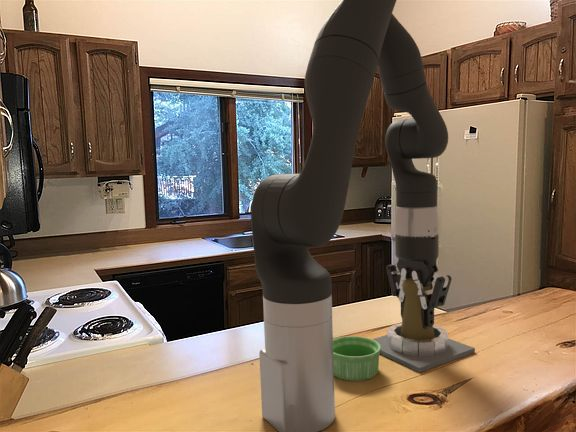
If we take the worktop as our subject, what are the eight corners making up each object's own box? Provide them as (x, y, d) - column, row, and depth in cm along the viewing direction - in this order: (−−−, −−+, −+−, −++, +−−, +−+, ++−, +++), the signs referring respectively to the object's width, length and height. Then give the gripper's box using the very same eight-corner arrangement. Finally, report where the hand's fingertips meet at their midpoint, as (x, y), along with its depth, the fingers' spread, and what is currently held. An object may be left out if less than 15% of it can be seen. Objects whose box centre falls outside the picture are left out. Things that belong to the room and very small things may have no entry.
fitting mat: (419, 372, 76) (419, 368, 76) (363, 346, 88) (362, 341, 88) (474, 352, 83) (474, 347, 83) (415, 330, 95) (415, 326, 95)
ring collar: (418, 361, 78) (418, 347, 78) (376, 342, 87) (376, 329, 87) (459, 347, 84) (459, 333, 83) (416, 330, 92) (415, 318, 92)
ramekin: (326, 383, 74) (325, 356, 73) (327, 359, 83) (326, 335, 82) (383, 384, 73) (383, 357, 72) (378, 360, 82) (378, 335, 81)
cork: (430, 330, 88) (430, 273, 87) (437, 342, 82) (437, 281, 81) (398, 330, 88) (397, 273, 87) (402, 342, 82) (402, 281, 81)
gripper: (373, 229, 87) (375, 318, 89) (433, 238, 75) (433, 340, 77) (402, 225, 91) (403, 311, 93) (463, 233, 79) (463, 331, 81)
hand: (417, 324), depth 85 cm, fingers closed on cork, 4 cm apart
